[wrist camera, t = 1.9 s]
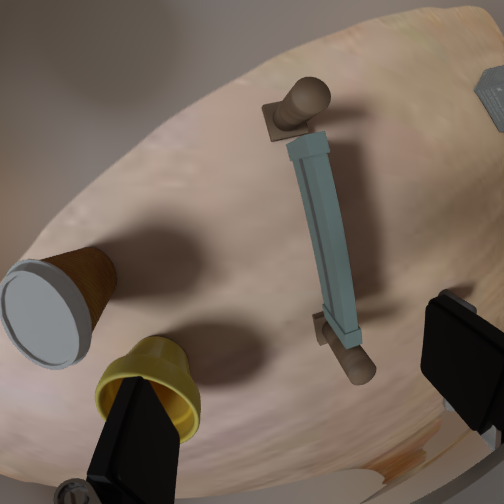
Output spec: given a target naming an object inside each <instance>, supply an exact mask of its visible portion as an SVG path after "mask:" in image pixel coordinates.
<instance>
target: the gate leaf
mask: <svg viewBox="0 0 504 504" xmlns="http://www.w3.org/2000/svg"><path fill="white" fill-rule="evenodd" d="M286 146H287V150H288V154H289V158H290V161H293V164H294V168H295V172H296V176H297V180H298V184H299V188H300V192H301V197H302V201H303V205H304V209H305V214H306V218H307V222H308V227H309V231H310V236H311V240H312V245H313V250H314V255H315V259H316V264H317V269H318V274H319V279H320V285H321V290H322V295H323V301H324V304H322V306H323V311H324V317H325V318H326V320H327V321H328V323H329V324H330V326H331V327H332V329H333V330H334V332H335V333H336V335H337V336H338V338H339V339H340V341H341V342H342V344H343V345H344V347H345V348H346V349H349V348H352V347H355V346H357V345H360V344H362V333H361V328H360V327H359V326H358V322H357V313H356V305H355V297H354V290H353V282H352V276H351V269H350V263H349V256H348V250H347V245H346V239H345V233H344V228H343V223H342V218H341V213H340V208H339V203H338V198H337V193H336V189H335V184H334V180H333V176H332V171H331V167H330V163H329V159H328V155H327V153H329V152H330V149H329V145H328V141H327V137H326V133H325V131H322V132H317V133H312V134H307V135H303V136H301V137H299V138H298V139H296V140H294V141H292V142H290V143H288V144H286Z"/></svg>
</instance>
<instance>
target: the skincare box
mask: <svg viewBox="0 0 504 504" xmlns="http://www.w3.org/2000/svg"><path fill="white" fill-rule="evenodd" d="M474 91H475V93H476V94H477V95H478V97H479V98H480V100H481V101H482V103H483V104H484V106H485V108H486V109H487V111H488V113H489V114H490V116H491V118H492V119H493V121H494V123H495V125H496V126H497V128H498V130H499V132H504V65H502V66H498V67H494V68H490V69H486V70H485V71H484V73H483V75H482V77H481V79H480V81H479V82H478V84H477V86H476V87H475V89H474Z"/></svg>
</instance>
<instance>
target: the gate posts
mask: <svg viewBox="0 0 504 504" xmlns="http://www.w3.org/2000/svg"><path fill="white" fill-rule="evenodd" d="M330 100H331V94H330V90H329V88H328V87H327V85H326V84H325V83H324V82H323V81H321V80H320V79H318V78H315V77H304V78H301V79H300V80H298V81H297V82H296V84H295V85H294V86H293V87H292V89H291V90H290V91H289V93H288V94H287V95H286V97H285V98H284V99H283V101H280V102H275V103H270V104H265V105H263V106H262V111H263V115H264V118H265V122H266V125H267V129H268V132H269V136H270V139H271V142H273V141H277V140H282V139H286V138H291V137H296V136H301V135H306V134H308V133H309V130H308V126H307V123H306V121H308V120H309V119H311V118H312V117H314V116H315V115H317V114H318V113H320V112H321V111H323V110H324V109H326V108H327V107H328V105H329V103H330ZM442 294H445V295H447V296H449V297H450V298H452V299H454V300H455V301H457V302H458V303H460V304H461V305H463V306H465V307H466V308H468V309H469V310H471V311H472V312H474V313H475V314H476V313H477V310H476V307H475V306H473V305H471V304H470V303H468V302H466V301H465V300H463V299H462V298H460V297H458V296H457V295H455V294H453V293H452V292H450V291H448V290H446V289H445V290H442V291H441V292H440V293H439V295H438V296H440V295H442ZM312 316H313V321H314V326H315V332H316V337H317V341H318V343H319V345H320V346H321V345H324V344H327V343H328V344H329V346H330V347H331V349H332V351H333V352H334V354H335V356H336V358H337V359H338V361H339V363H340V364H341V366H342V368H343V370H344V371H345V373H346V375H347V377H348V378H349V380H350V382H351V383H352V384H353V385H363V384H365V383H367V382H369V381H370V380H371V379H372V378H373V377H374V375H375V373H376V366H375V364H374V363H373V362H372V360H371V359H370V358H369V356H368V355H367V354H366V352H365V351H364V350H363V348H362V347H361V346H360V345H357V346H355V347H352V348H349V349H346V348H345V347H344V345H343V344H342V342H341V341H340V339H339V338H338V336H337V335H336V333H335V332H334V330H333V329H332V327H331V326H330V324H329V323H328V321H327V320H326V318H325V317H324V311H323V312H320V313H317V314H313V315H312Z"/></svg>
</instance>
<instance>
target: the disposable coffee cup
mask: <svg viewBox="0 0 504 504" xmlns="http://www.w3.org/2000/svg"><path fill="white" fill-rule="evenodd" d="M116 283H117V277H116V271H115V268H114V266H113V264H112V262H111V260H110V259H109V258H108V257H107V256H106V255H105V254H104V253H103V252H102V251H100V250H98V249H96V248H91V247H87V248H82V249H78V250H74V251H71V252H67V253H63V254H60V255H56V256H52V257H49V258H45V259H42V260H35V259H27V260H22V261H19V262H18V263H16V264H14V265H13V266H12V267H11V269H10V270H9V271H8V272H7V275H6V277H5V279H4V280H3V282H2V284H1V285H0V318H1V321H2V324H3V326H4V329H5V331H6V333H7V335H8V336H9V338H10V340H11V341H12V343H13V344H14V345H15V346H16V348H17V349H18V350H19V351H20V352H21V353H22V354H23V355H24V356H25V357H26V358H28V359H29V360H31V361H32V362H34V363H35V364H37V365H39V366H41V367H43V368H47V369H51V370H60V369H64V368H66V367H68V366H71V365H74V364H77V363H78V362H80V361H81V360H82V359H83V358H84V357H85V356H86V354H87V352H88V350H89V348H90V344H91V338H92V332H93V330H94V328H95V326H96V324H97V322H98V320H99V318H100V316H101V314H102V312H103V310H104V309H105V307H106V305H107V303H108V301H109V299H110V297H111V295H112V294H113V292H114V290H115V287H116Z"/></svg>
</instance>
